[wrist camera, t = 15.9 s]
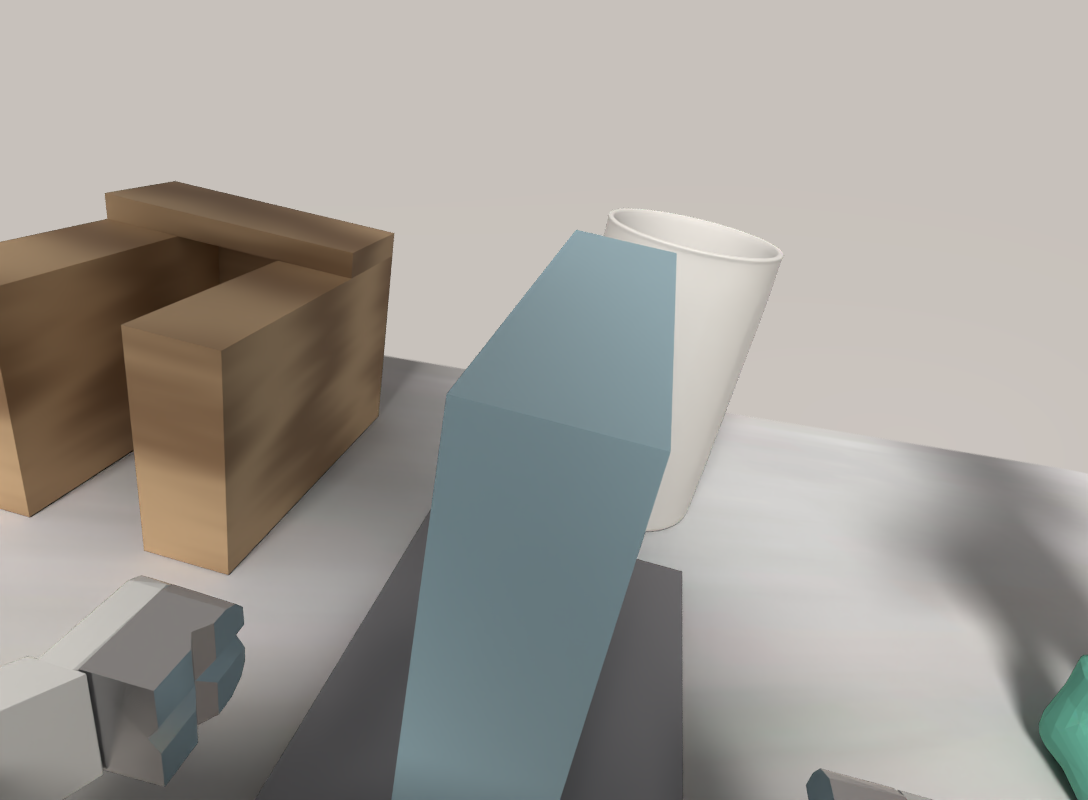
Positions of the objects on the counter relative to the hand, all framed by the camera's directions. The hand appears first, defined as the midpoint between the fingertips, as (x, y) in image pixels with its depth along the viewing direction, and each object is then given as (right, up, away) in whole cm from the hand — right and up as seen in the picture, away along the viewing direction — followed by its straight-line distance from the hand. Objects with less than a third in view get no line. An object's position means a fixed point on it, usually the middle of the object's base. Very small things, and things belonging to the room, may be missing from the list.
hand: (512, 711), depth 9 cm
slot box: (-14, +2, +18) cm, 23 cm away
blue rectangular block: (0, -4, +10) cm, 11 cm away
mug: (+4, +1, +23) cm, 23 cm away
